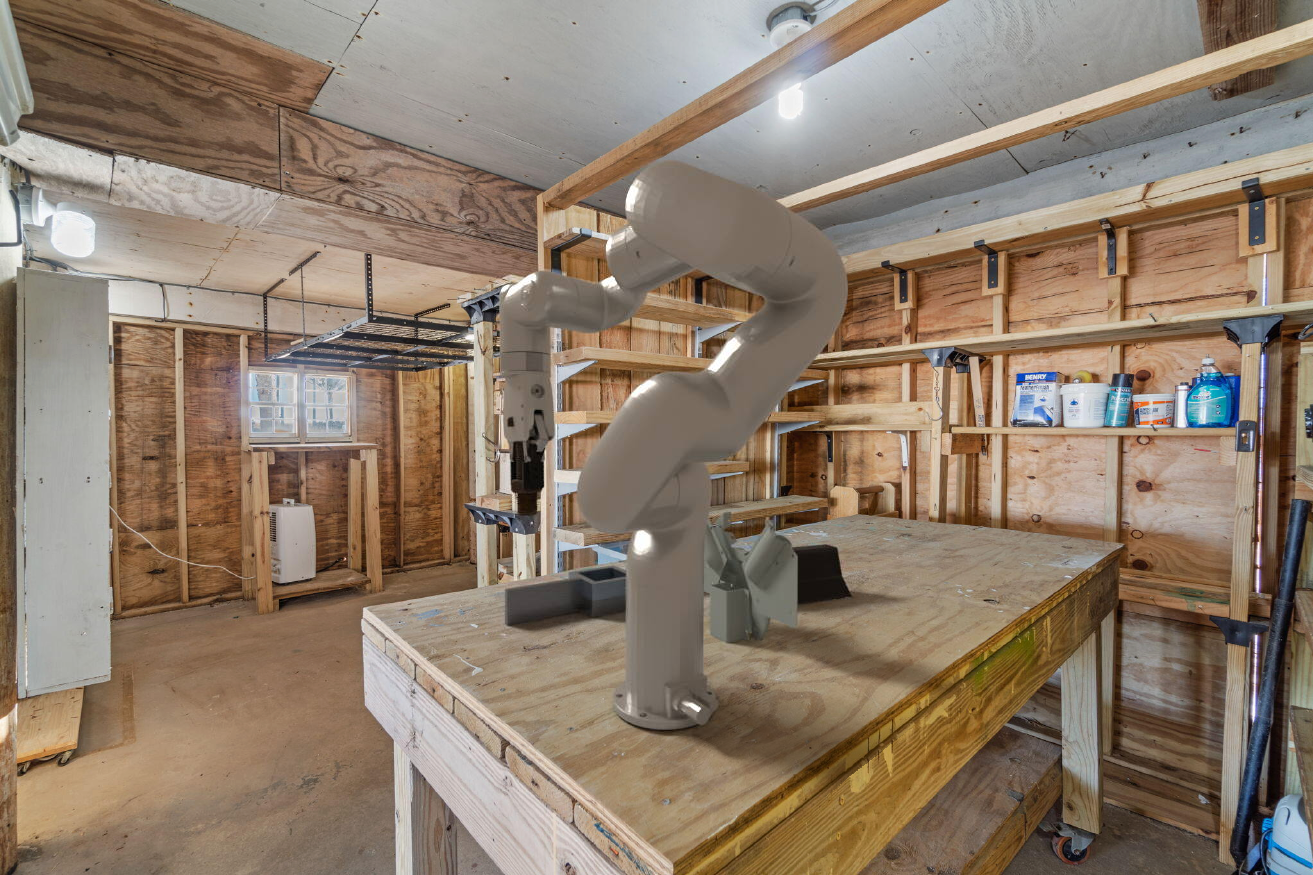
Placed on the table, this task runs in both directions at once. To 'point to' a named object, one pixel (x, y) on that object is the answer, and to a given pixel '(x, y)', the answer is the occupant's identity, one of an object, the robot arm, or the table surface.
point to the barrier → (819, 574)
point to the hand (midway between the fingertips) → (527, 486)
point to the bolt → (525, 497)
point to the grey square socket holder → (569, 596)
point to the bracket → (749, 582)
